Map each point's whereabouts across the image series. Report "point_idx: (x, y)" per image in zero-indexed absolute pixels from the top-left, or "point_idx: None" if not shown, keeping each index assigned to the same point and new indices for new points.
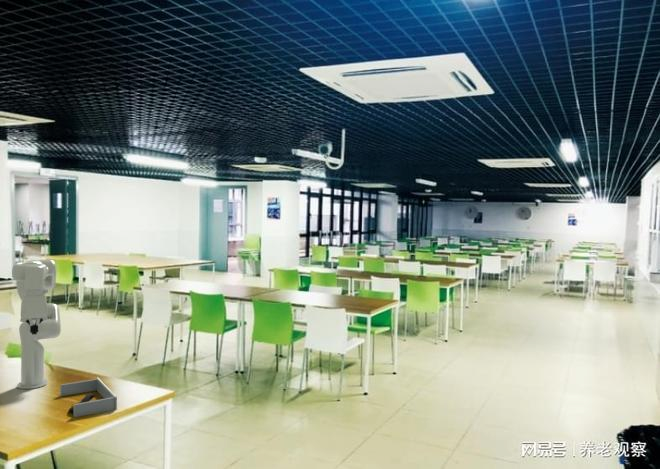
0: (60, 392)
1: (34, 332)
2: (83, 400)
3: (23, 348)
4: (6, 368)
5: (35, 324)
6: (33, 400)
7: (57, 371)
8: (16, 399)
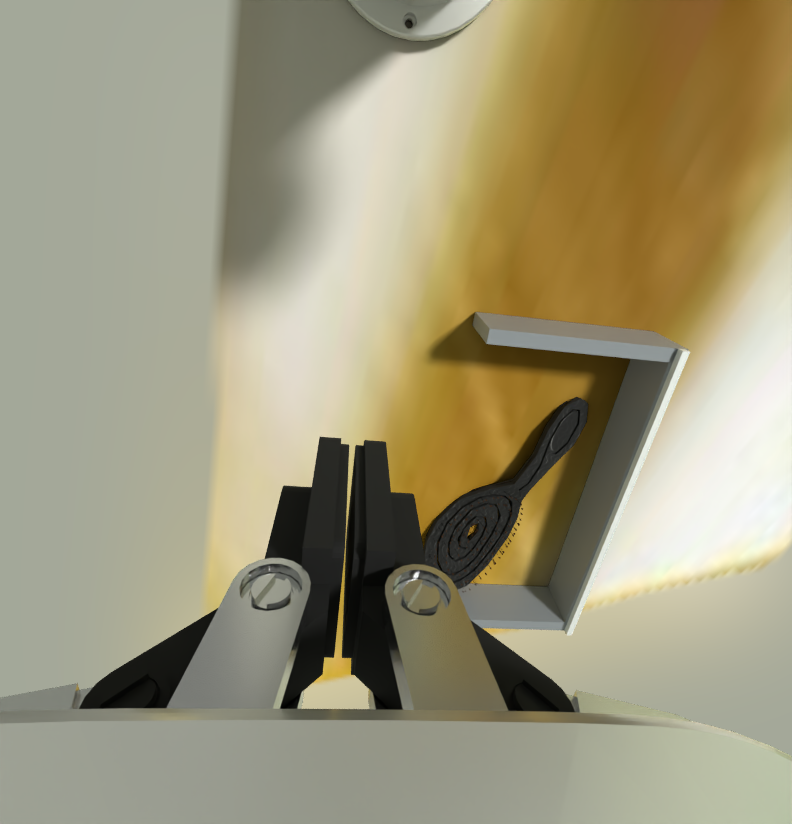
0: (477, 323)
1: (350, 510)
2: (506, 490)
3: None
4: None
5: (359, 667)
6: (349, 304)
7: None
8: (277, 222)
